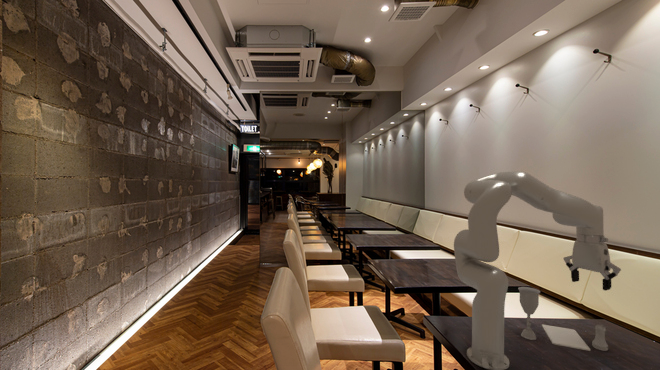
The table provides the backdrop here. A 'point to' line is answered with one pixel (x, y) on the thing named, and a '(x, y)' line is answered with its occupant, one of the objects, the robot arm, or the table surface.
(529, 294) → the chalice
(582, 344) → the grey mat
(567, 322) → the table surface
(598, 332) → the rook chess piece
